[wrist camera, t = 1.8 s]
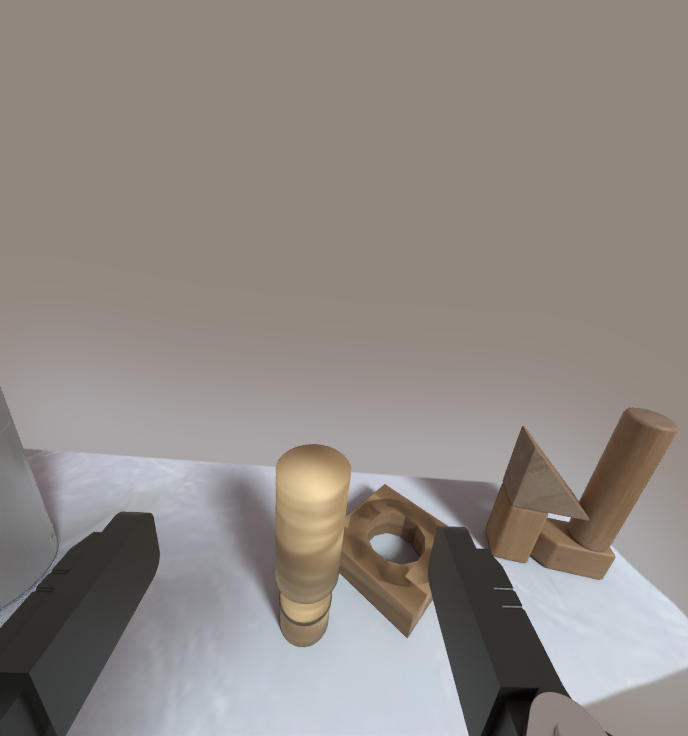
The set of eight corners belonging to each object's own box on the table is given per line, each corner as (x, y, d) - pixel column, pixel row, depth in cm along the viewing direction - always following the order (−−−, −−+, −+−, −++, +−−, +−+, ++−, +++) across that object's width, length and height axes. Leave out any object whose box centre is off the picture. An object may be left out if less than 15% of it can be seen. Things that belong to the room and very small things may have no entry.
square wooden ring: (407, 638, 27) (413, 615, 25) (322, 556, 33) (324, 534, 31) (459, 558, 34) (465, 538, 32) (381, 503, 40) (384, 484, 38)
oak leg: (301, 669, 24) (311, 509, 18) (263, 618, 27) (260, 465, 21) (344, 618, 28) (366, 469, 21) (306, 578, 30) (315, 436, 24)
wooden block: (483, 528, 37) (533, 390, 30) (585, 550, 36) (662, 409, 29) (491, 557, 34) (548, 409, 27) (602, 583, 33) (695, 432, 25)
